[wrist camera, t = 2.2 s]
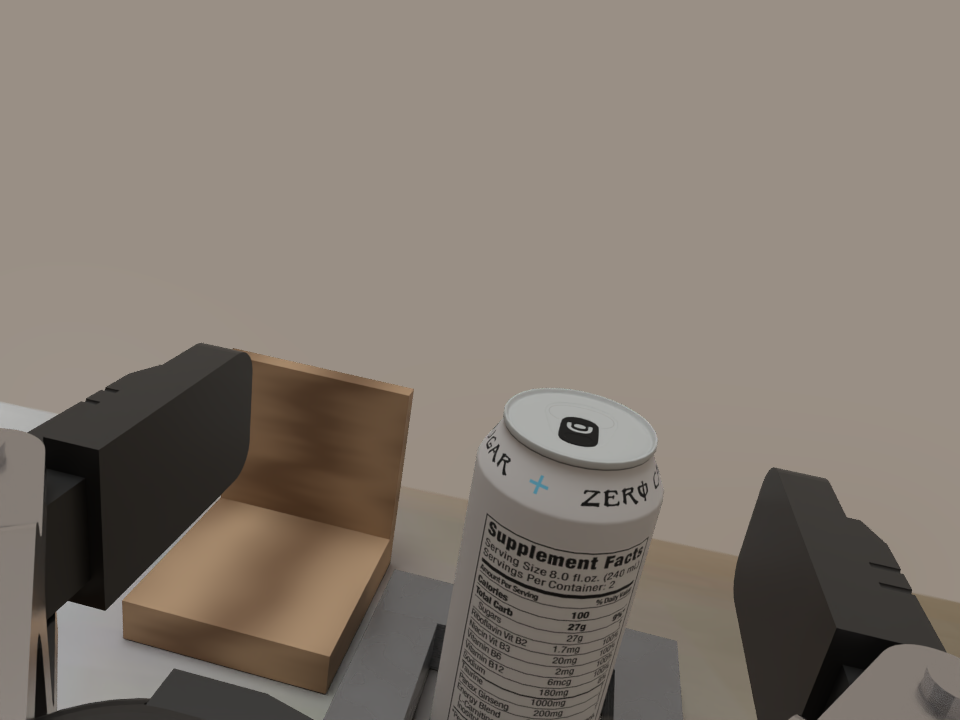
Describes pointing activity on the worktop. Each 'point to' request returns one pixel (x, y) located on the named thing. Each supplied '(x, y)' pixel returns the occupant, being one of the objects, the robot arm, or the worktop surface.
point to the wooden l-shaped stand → (287, 532)
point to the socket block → (418, 646)
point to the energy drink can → (548, 559)
